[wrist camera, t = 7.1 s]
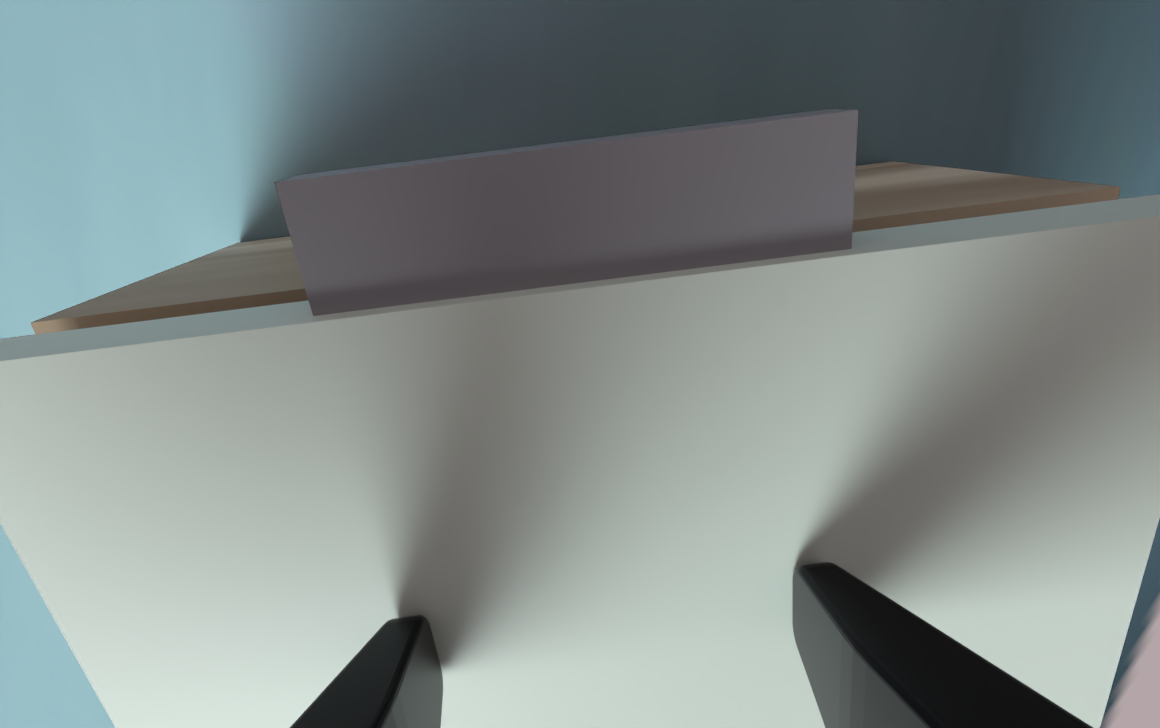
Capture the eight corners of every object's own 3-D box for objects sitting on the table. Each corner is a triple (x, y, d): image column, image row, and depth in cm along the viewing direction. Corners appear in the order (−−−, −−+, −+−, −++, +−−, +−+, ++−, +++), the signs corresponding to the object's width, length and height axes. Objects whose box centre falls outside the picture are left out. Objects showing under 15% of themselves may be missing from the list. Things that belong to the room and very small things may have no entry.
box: (861, 722, 17) (984, 956, 12) (401, 781, 17) (345, 1038, 12) (892, 161, 12) (1120, 185, 7) (237, 242, 12) (30, 322, 7)
